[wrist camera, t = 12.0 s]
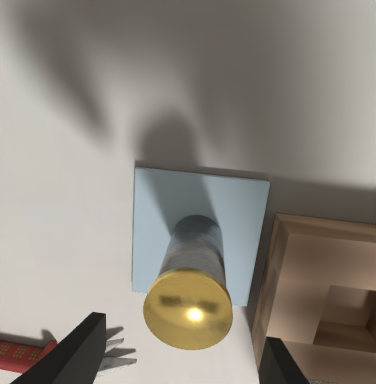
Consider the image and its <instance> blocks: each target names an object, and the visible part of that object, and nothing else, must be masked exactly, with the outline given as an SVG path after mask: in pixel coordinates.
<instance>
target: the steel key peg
mask: <svg viewBox="0 0 376 384" xmlns="http://www.w3.org/2000/svg"><path fill="white" fill-rule="evenodd" d="M143 313H144V319H145V322H146V324H147V326H148V328H149V329H150V331H151V332H152V333H153V334H154V335H155V336H156V337H157V338H158V339H160V340H161V341H162V342H164V343H166V344H168V345H170V346H173V347H175V348H179V349H185V350H200V349H205V348H208V347H211V346H213V345H215V344H217V343H218V342H220V341H221V340H222V339H223V338H224V337H225V336H226V335H227V334H228V332H229V330H230V328H231V325H232V320H233V313H232V302H231V297H230V294H229V292H228V290H227V288H226V276H225V262H224V249H223V236H222V232H221V229H220V227H219V226H218V224H217V223H216V222H215V221H213V220H212V219H210V218H208V217H206V216H202V215H191V216H187V217H185V218H183V219H181V220H180V221H179V222H178V223H177V224H176V226H175V228H174V230H173V233H172V236H171V239H170V242H169V245H168V248H167V251H166V253H165V256H164V259H163V262H162V265H161V268H160V271H159V274H158V277H157V278H156V279H155V280H154V282H153V283H152V284H151V286H150V288H149V291H148V294H147V297H146V299H145V302H144V307H143Z"/></svg>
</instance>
